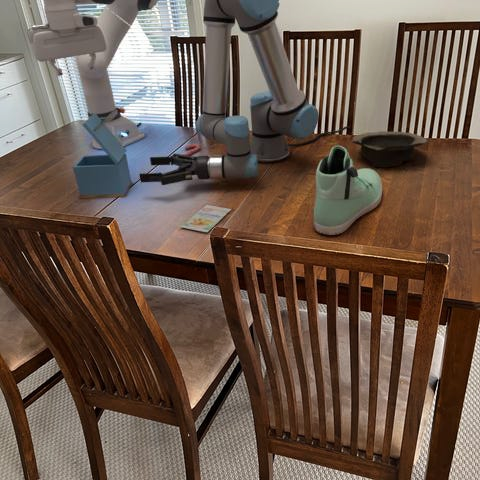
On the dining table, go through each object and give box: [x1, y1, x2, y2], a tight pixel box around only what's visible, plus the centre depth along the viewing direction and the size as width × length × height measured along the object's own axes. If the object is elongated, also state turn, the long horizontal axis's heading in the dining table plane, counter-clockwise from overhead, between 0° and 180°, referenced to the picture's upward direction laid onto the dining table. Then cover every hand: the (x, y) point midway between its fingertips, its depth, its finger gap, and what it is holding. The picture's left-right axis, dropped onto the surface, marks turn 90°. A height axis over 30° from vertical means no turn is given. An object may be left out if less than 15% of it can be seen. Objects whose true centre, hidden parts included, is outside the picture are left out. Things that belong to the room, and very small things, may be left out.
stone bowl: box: [351, 131, 429, 168], centre depth 166 cm, size 25×25×9 cm
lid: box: [81, 110, 127, 164], centre depth 151 cm, size 15×10×8 cm
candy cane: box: [181, 143, 201, 156], centre depth 185 cm, size 6×15×2 cm, turn 145°
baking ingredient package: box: [180, 204, 232, 233], centre depth 139 cm, size 9×1×15 cm
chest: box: [72, 153, 133, 199], centre depth 159 cm, size 15×10×11 cm
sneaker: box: [313, 145, 383, 236], centre depth 133 cm, size 14×35×20 cm, turn 152°
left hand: (76, 72), depth 141 cm, fingers open, 8 cm apart
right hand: (145, 169), depth 157 cm, fingers open, 13 cm apart
